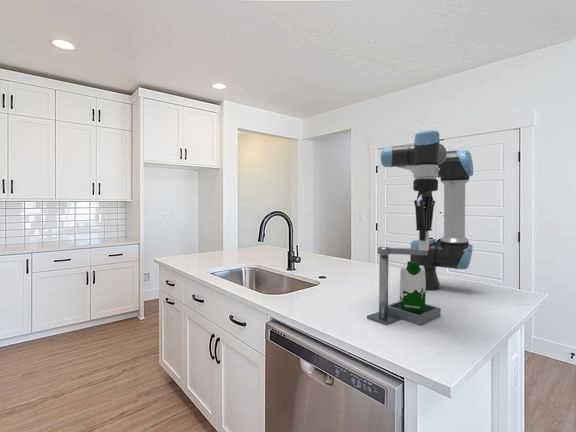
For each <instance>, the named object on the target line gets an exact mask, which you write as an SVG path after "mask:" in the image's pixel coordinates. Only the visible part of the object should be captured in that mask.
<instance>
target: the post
mask: <svg viewBox="0 0 576 432" xmlns="http://www.w3.org/2000/svg"><path fill="white" fill-rule="evenodd" d="M389 255H390V254H379V269H378V270H379V271H378V272H379V277H378V278H379V280H378V282H379V284H378V288H379V289H378V292H379V293H378V294H379V295H378V297H379V298H378V311H377V312H374V313H371V314H369V315H367V316H366V319H367V320H370V321H373V322H376V323H378V324H381V325H384V326H388V325H390V324H393V323H396V322H398V321H400V320H401V319H400V317H398V316H395V315H391V314H388V305H389Z"/></svg>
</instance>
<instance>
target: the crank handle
mask: <svg viewBox="0 0 576 432" xmlns="http://www.w3.org/2000/svg"><path fill="white" fill-rule="evenodd" d="M430 239H431V238H430V237H429V240H430ZM428 250H429V249H428ZM377 254H378V255H380V254H387V255H408V256H410V255H428V251H423V250H419V249H411V247H410V248H409V247H407V248H405V247H404V248H403V247H389V246H388V247H387V246H378V247H377Z"/></svg>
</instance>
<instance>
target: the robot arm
mask: <svg viewBox="0 0 576 432" xmlns="http://www.w3.org/2000/svg"><path fill="white" fill-rule="evenodd" d="M440 141H441V139H440V132H439V131H437V130H431V129H430V130H422V131H418V132H416V134H415V135H414V142H413V144H410V145H399V146H397V145H396V146H388V147H384V148H383V149H382V150H381V152H380V163H381V166H382V167H384V168H400V169H404V170H407V171H410V172H411V173H412V174H413V175H412V176H413V181H412V182H413V183H412V185H413V186H412V187H413V188H412V190H413V191H414V192H418V193H417V196H416V199H414V202H413V203H414V207H415V223H416V224H415V225H416V228H415V229H416V231H418V239H415V240H413V241H411V243H410V249H419V250H423V251H428V255H409V257H410V258H409V260H410V261H416V262H419V265H420V266H424V268H425V273H426V277H425V278H426V291H435V290H439V289H440V280H439V278H438V275H437V268H448V269H455V270H467V269H468V268H469V266H470V263H471V260H472V255H473V248H474V247H473V245H472V244H471V243H470V242H469V241H470V240H469V239H468V238H467V237H466V185H467V183H468V182H469V181H470V177H473V175H474V163H473V158H472V154H471V152H470V151H469V150H468V149H467V150H466V149H456V150H447V148H446V147H445V146H444V145H443V144H442V143H440ZM437 178H440V183H442V184H443V236H442V237H441V238H440V240H439V241H440V242H439V241H437V239H436V238H430V231H431V232H432V231H433V227H432V226H433V217H434V207H435V203H436V201H435V200H434V197H433V192H437V191H439V180H438V179H437ZM429 238H430V240H429ZM428 249H429V250H428Z"/></svg>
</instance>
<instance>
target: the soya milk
mask: <svg viewBox="0 0 576 432" xmlns="http://www.w3.org/2000/svg"><path fill="white" fill-rule="evenodd" d="M399 274H400V275H399V276H400V278H399V301H400V305H401V310H404V311H407V312H410V313H414V314H417V315H420V314H423V313H424V310H425V304H426V293H427V292H426V291H427V290H426V278H425V277H426V273H425V268H424V266H420V265H419V262H416V261H407V263H406V264H401V267H400V273H399Z"/></svg>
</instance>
